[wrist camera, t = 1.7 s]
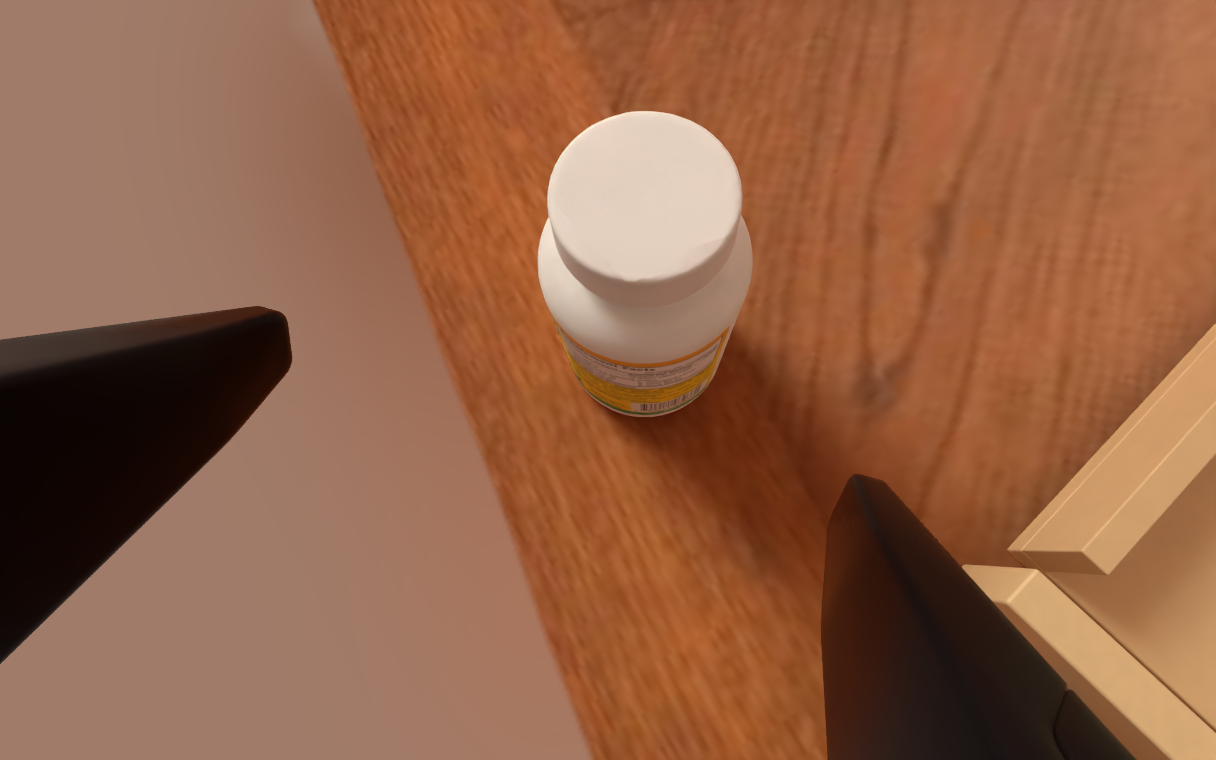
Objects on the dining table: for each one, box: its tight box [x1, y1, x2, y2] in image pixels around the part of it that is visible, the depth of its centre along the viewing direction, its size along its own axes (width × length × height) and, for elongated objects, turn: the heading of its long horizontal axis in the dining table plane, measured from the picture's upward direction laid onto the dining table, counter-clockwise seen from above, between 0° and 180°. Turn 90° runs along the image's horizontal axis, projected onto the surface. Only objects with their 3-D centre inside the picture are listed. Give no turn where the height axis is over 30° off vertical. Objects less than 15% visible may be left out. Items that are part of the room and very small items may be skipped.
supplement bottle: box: [538, 111, 753, 417], centre depth 17 cm, size 5×5×10 cm
